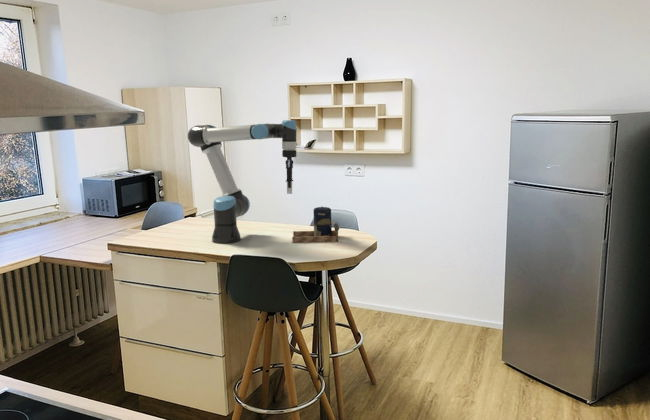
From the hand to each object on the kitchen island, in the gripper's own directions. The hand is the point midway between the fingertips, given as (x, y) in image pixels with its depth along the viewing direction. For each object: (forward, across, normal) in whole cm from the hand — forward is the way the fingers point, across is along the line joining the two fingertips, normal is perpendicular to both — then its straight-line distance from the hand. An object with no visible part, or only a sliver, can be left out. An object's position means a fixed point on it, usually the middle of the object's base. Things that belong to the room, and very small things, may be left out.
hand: (289, 193), depth 282 cm
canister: (+24, -4, -18) cm, 31 cm away
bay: (+24, -4, -14) cm, 28 cm away
